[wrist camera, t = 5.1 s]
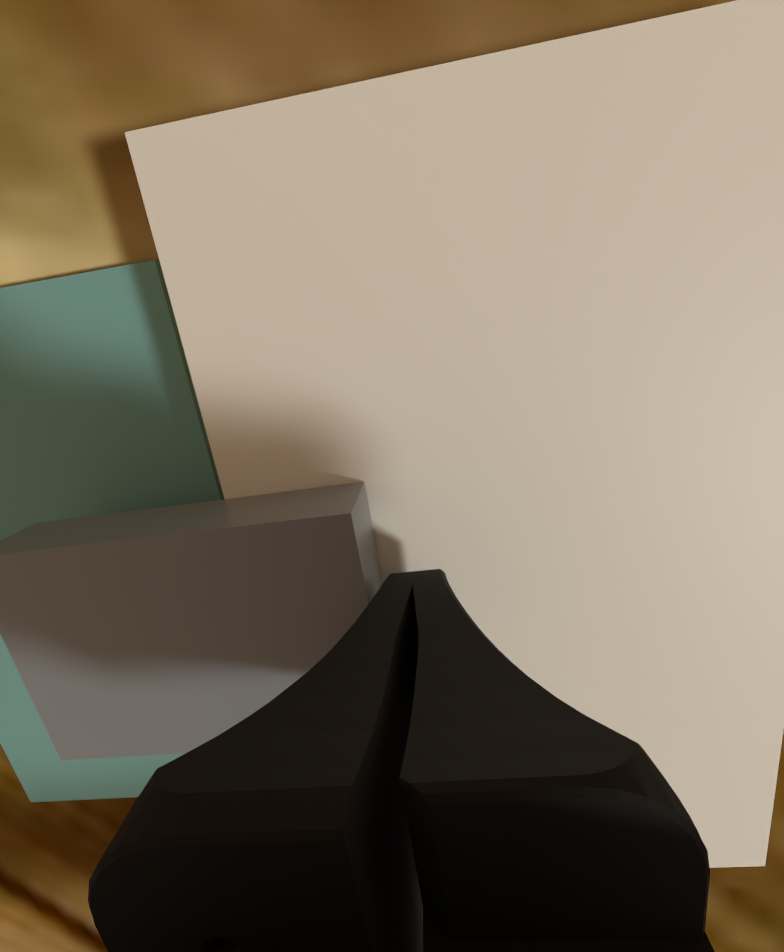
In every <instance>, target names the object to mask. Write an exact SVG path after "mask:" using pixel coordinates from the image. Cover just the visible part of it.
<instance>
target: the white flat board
mask: <svg viewBox="0 0 784 952" xmlns="http://www.w3.org/2000/svg"><path fill="white" fill-rule="evenodd" d="M125 136H126V140H127V143H128V147H129V151H130V154H131V158H132V162H133V165H134V169H135V173H136V176H137V180H138V184H139V187H140V191H141V195H142V198H143V202H144V206H145V209H146V213H147V217H148V220H149V224H150V228H151V231H152V235H153V239H154V242H155V246H156V250H157V253H158V257H159V261H160V264H161V268H162V272H163V275H164V279H165V283H166V286H167V290H168V294H169V297H170V301H171V305H172V308H173V312H174V316H175V319H176V323H177V327H178V330H179V334H180V338H181V341H182V345H183V349H184V352H185V356H186V360H187V363H188V367H189V371H190V374H191V378H192V382H193V385H194V389H195V393H196V396H197V400H198V404H199V407H200V411H201V415H202V418H203V422H204V426H205V429H206V433H207V437H208V440H209V444H210V448H211V451H212V455H213V459H214V462H215V466H216V470H217V473H218V477H219V481H220V484H221V488H222V492H223V495H224V499H231V498H239V497H247V496H255V495H263V494H271V493H279V492H287V491H295V490H303V489H311V488H319V487H327V486H335V485H343V484H351V483H359V482H364V483H365V488H366V494H367V499H368V505H369V510H370V516H371V521H372V526H373V532H374V537H375V543H376V548H377V554H378V559H379V565H380V570H381V575H382V581H383V582H384V581H385V579H386V578H387V577H388V576H389V575H390V574H391V573H401V572H412V571H422V570H433V569H441V570H442V571H444V572H445V575H446V578H447V580H448V583H449V585H450V587H451V589H452V590H453V592H454V594H455V596H456V597H457V599H458V600H459V602H460V603H461V605H462V606H463V608H464V609H465V610H466V612H467V613H468V615H469V616H470V617H471V619H472V620H473V621H474V622H475V624H476V625H477V626H478V627H479V628H480V630H481V631H482V632H483V633H484V634H485V636H486V637H487V638H488V639H489V640H490V641H491V642H492V643H493V644H494V645H495V646H496V647H497V648H498V649H499V650H500V651H501V652H502V653H503V654H504V655H505V656H506V657H507V658H508V659H509V660H510V661H511V662H512V663H513V664H515V665H516V666H517V667H518V668H519V669H520V670H521V671H523V672H524V673H525V674H526V675H527V676H528V677H530V678H531V679H532V680H534V681H535V682H537V683H538V684H539V685H541V686H542V687H543V688H545V689H546V690H547V691H549V692H550V693H551V694H553V695H554V696H555V697H557V698H559V699H560V700H562V701H563V702H565V703H566V704H568V705H570V706H571V707H573V708H574V709H576V710H577V711H579V712H581V713H582V714H584V715H586V716H588V717H589V718H591V719H593V720H595V721H597V722H599V723H601V724H603V725H605V726H606V727H608V728H610V729H612V730H614V731H616V732H618V733H620V734H622V735H624V736H625V737H627V738H629V739H631V740H633V741H635V742H637V743H638V744H639V745H640V746H641V747H642V748H643V749H644V751H645V752H646V753H647V755H648V756H649V757H650V759H651V760H652V761H653V763H654V764H655V765H656V767H657V768H658V769H659V771H660V772H661V773H662V775H663V776H664V778H665V779H666V781H667V782H668V783H669V785H670V786H671V788H672V789H673V791H674V792H675V794H676V795H677V796H678V798H679V799H680V801H681V803H682V804H683V806H684V807H685V809H686V811H687V812H688V814H689V815H690V817H691V819H692V821H693V823H694V825H695V827H696V828H697V830H698V833H699V835H700V837H701V839H702V841H703V843H704V845H705V847H706V849H707V850H708V859H709V868H714V867H750V866H765V863H766V855H767V848H768V840H769V833H770V826H771V818H772V811H773V803H774V796H775V788H776V781H777V774H778V766H779V759H780V751H781V744H782V736H783V729H784V0H737V1H732V2H728V3H723V4H718V5H714V6H709V7H704V8H700V9H695V10H690V11H686V12H681V13H677V14H672V15H667V16H663V17H658V18H653V19H649V20H644V21H639V22H635V23H630V24H625V25H621V26H616V27H611V28H607V29H602V30H598V31H593V32H588V33H584V34H579V35H574V36H570V37H565V38H560V39H556V40H551V41H546V42H542V43H537V44H532V45H528V46H523V47H519V48H514V49H509V50H505V51H500V52H495V53H491V54H486V55H481V56H477V57H472V58H467V59H463V60H458V61H454V62H449V63H444V64H440V65H435V66H430V67H426V68H421V69H416V70H412V71H407V72H402V73H398V74H393V75H388V76H384V77H379V78H375V79H370V80H365V81H361V82H356V83H351V84H347V85H342V86H337V87H333V88H328V89H323V90H319V91H314V92H309V93H305V94H300V95H296V96H291V97H286V98H282V99H277V100H272V101H268V102H263V103H258V104H254V105H249V106H244V107H240V108H235V109H231V110H226V111H221V112H217V113H212V114H207V115H203V116H198V117H193V118H189V119H184V120H179V121H175V122H170V123H165V124H161V125H156V126H152V127H147V128H142V129H138V130H133V131H128V132H125Z"/></svg>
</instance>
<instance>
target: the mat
mask: <svg viewBox="0 0 784 952" xmlns="http://www.w3.org/2000/svg"><path fill="white" fill-rule="evenodd" d="M223 499H224V495H223V492H222V488H221V484H220V481H219V477H218V473H217V470H216V466H215V462H214V459H213V455H212V451H211V448H210V444H209V440H208V437H207V433H206V429H205V426H204V422H203V418H202V415H201V411H200V407H199V404H198V400H197V396H196V393H195V389H194V385H193V382H192V378H191V374H190V371H189V367H188V363H187V360H186V356H185V352H184V349H183V345H182V341H181V338H180V334H179V330H178V327H177V323H176V319H175V316H174V312H173V308H172V305H171V301H170V297H169V294H168V290H167V286H166V283H165V279H164V275H163V272H162V268H161V264H160V261H157V260H151V261H146V262H140V263H135V264H129V265H124V266H118V267H113V268H107V269H102V270H96V271H91V272H85V273H80V274H74V275H69V276H63V277H58V278H52V279H47V280H41V281H36V282H31V283H25V284H20V285H14V286H9V287H3V288H0V540H3V539H5V538H7V537H9V536H11V535H13V534H15V533H17V532H19V531H21V530H23V529H25V528H27V527H29V526H31V525H33V524H35V523H39V522H47V521H55V520H63V519H71V518H79V517H87V516H95V515H103V514H111V513H119V512H127V511H135V510H143V509H151V508H159V507H167V506H175V505H183V504H191V503H199V502H207V501H215V500H223ZM0 744H1V746H2V747H3V749H4V751H5V753H6V755H7V757H8V759H9V761H10V763H11V765H12V767H13V769H14V771H15V773H16V775H17V777H18V779H19V781H20V782H21V784H22V786H23V788H24V790H25V792H26V794H27V796H28V798H29V800H30V802H49V801H69V800H89V799H109V798H130V797H139V795H140V793H141V792H142V790H143V789H144V787H145V786H146V784H147V783H148V781H149V779H150V778H151V776H152V775H153V774H154V772H155V771H156V769H157V768H159V767H161V766H163V765H165V764H167V763H169V762H171V761H173V760H175V759H176V758H178V757H180V756H182V755H184V754H169V755H150V756H132V757H113V758H95V759H77V760H61V759H60V757H59V755H58V753H57V751H56V749H55V747H54V745H53V743H52V741H51V738H50V736H49V734H48V732H47V730H46V728H45V726H44V724H43V722H42V720H41V718H40V716H39V713H38V711H37V709H36V707H35V705H34V703H33V701H32V699H31V697H30V695H29V693H28V691H27V689H26V686H25V684H24V682H23V680H22V678H21V676H20V674H19V672H18V670H17V668H16V666H15V664H14V661H13V659H12V657H11V655H10V653H9V651H8V649H7V647H6V645H5V643H4V641H3V639H2V637H1V634H0Z"/></svg>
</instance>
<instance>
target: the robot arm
mask: <svg viewBox="0 0 784 952" xmlns="http://www.w3.org/2000/svg"><path fill="white" fill-rule="evenodd" d="M709 878H710V868H709V859H708V850H707V849H706V847H705V845H704V843H703V841H702V839H701V837H700V835H699V833H698V830H697V828H696V827H695V825H694V823H693V821H692V819H691V817H690V815H689V814H688V812H687V811H686V809H685V807H684V806H683V804H682V803H681V801H680V799H679V798H678V796H677V795H676V794H675V792H674V791H673V789H672V788H671V786H670V785H669V783H668V782H667V781H666V779H665V778H664V776H663V775H662V773H661V772H660V771H659V769H658V768H657V767H656V765H655V764H654V763H653V761H652V760H651V759H650V757H649V756H648V755H647V753H646V752H645V751H644V749H643V748H642V747H641V746H640V745H639V744H638V743H637V742H635V741H633V740H631V739H629V738H627V737H625V736H624V735H622V734H620V733H618V732H616V731H614V730H612V729H610V728H608V727H606V726H605V725H603V724H601V723H599V722H597V721H595V720H593V719H591V718H589V717H588V716H586V715H584V714H582V713H581V712H579V711H577V710H576V709H574V708H573V707H571V706H570V705H568V704H566V703H565V702H563V701H562V700H560V699H559V698H557V697H555V696H554V695H553V694H551V693H550V692H549V691H547V690H546V689H545V688H543V687H542V686H541V685H539V684H538V683H537V682H535V681H534V680H532V679H531V678H530V677H528V676H527V675H526V674H525V673H524V672H523V671H521V670H520V669H519V668H518V667H517V666H516V665H515V664H513V663H512V662H511V661H510V660H509V659H508V658H507V657H506V656H505V655H504V654H503V653H502V652H501V651H500V650H499V649H498V648H497V647H496V646H495V645H494V644H493V643H492V642H491V641H490V640H489V639H488V638H487V637H486V636H485V634H484V633H483V632H482V631H481V630H480V628H479V627H478V626H477V625H476V624H475V622H474V621H473V620H472V619H471V617H470V616H469V615H468V613H467V612H466V610H465V609H464V608H463V606H462V605H461V603H460V602H459V600H458V599H457V597H456V596H455V594H454V592H453V590H452V589H451V587H450V585H449V583H448V580H447V578H446V575H445V572H444V571H442V570H441V569H433V570H422V571H412V572H401V573H391V574H390V575H389V576H388V577H387V578H386V579H385V581H384V582H383V584H382V585H381V587H380V588H379V590H378V591H377V593H376V594H375V596H374V597H373V599H372V600H371V601H370V603H369V604H368V605H367V607H366V608H365V609H364V611H363V612H362V613H361V615H360V616H359V617H358V619H357V620H356V621H355V622H354V624H353V625H352V626H351V627H350V628H349V630H348V631H347V632H346V633H345V634H344V635H343V637H342V638H341V639H340V640H339V641H338V642H337V644H336V645H335V646H334V647H333V648H332V649H331V650H330V651H329V652H328V653H327V654H326V655H325V656H324V657H323V658H322V659H321V660H320V661H319V662H318V663H316V664H315V665H314V666H313V667H312V668H311V669H310V670H309V671H308V672H307V673H305V674H304V675H303V676H302V677H301V678H299V679H298V680H297V681H296V682H294V683H293V684H292V685H290V686H289V687H288V688H287V689H285V690H284V691H283V692H282V693H280V694H279V695H278V696H276V697H275V698H274V699H273V700H271V701H270V702H269V703H267V704H266V705H264V706H263V707H261V708H260V709H259V710H257V711H256V712H254V713H253V714H251V715H250V716H248V717H247V718H245V719H244V720H242V721H241V722H239V723H237V724H236V725H234V726H233V727H231V728H230V729H228V730H226V731H225V732H223V733H221V734H220V735H218V736H216V737H215V738H213V739H211V740H209V741H207V742H206V743H204V744H202V745H200V746H198V747H196V748H195V749H193V750H191V751H189V752H187V753H185V754H184V755H182V756H180V757H178V758H176V759H175V760H173V761H171V762H169V763H167V764H165V765H163V766H161V767H159V768H157V769H156V771H155V772H154V774H153V775H152V776H151V778H150V779H149V781H148V783H147V784H146V786H145V787H144V789H143V790H142V792H141V793H140V795H139V797H138V798H137V800H136V801H135V803H134V805H133V806H132V808H131V810H130V811H129V813H128V815H127V816H126V818H125V820H124V821H123V823H122V825H121V826H120V828H119V830H118V831H117V833H116V835H115V836H114V838H113V840H112V841H111V843H110V845H109V846H108V848H107V850H106V851H105V853H104V855H103V856H102V858H101V860H100V861H99V863H98V865H97V867H96V869H95V871H94V873H93V875H92V876H91V878H90V880H89V893H88V902H89V907H90V910H91V913H92V916H93V919H94V923H95V926H96V928H97V930H98V932H99V934H100V936H101V938H102V940H103V942H104V944H105V946H106V948H107V950H108V952H714V950H713V948H712V946H711V944H710V941H709V939H708V937H707V935H706V933H705V921H706V910H707V899H708V889H709ZM422 904H423V927H422Z"/></svg>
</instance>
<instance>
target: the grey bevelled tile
mask: <svg viewBox="0 0 784 952" xmlns="http://www.w3.org/2000/svg"><path fill="white" fill-rule="evenodd" d="M382 584H383V581H382V575H381V570H380V565H379V559H378V554H377V548H376V543H375V537H374V532H373V526H372V521H371V516H370V510H369V505H368V499H367V494H366V488H365V483H364V482H359V483H351V484H343V485H335V486H327V487H319V488H311V489H303V490H295V491H287V492H279V493H271V494H263V495H255V496H247V497H239V498H231V499H223V500H215V501H207V502H199V503H191V504H183V505H175V506H167V507H159V508H151V509H143V510H135V511H127V512H119V513H111V514H103V515H95V516H87V517H79V518H71V519H63V520H55V521H47V522H39V523H35V524H33V525H31V526H29V527H27V528H25V529H23V530H21V531H19V532H17V533H15V534H13V535H11V536H9V537H7V538H5V539H3V540H0V634H1V637H2V639H3V641H4V643H5V645H6V647H7V649H8V651H9V653H10V655H11V657H12V659H13V661H14V664H15V666H16V668H17V670H18V672H19V674H20V676H21V678H22V680H23V682H24V684H25V686H26V689H27V691H28V693H29V695H30V697H31V699H32V701H33V703H34V705H35V707H36V709H37V711H38V713H39V716H40V718H41V720H42V722H43V724H44V726H45V728H46V730H47V732H48V734H49V736H50V738H51V741H52V743H53V745H54V747H55V749H56V751H57V753H58V755H59V757H60V759H61V760H77V759H95V758H113V757H132V756H150V755H169V754H185V753H187V752H189V751H191V750H193V749H195V748H196V747H198V746H200V745H202V744H204V743H206V742H207V741H209V740H211V739H213V738H215V737H216V736H218V735H220V734H221V733H223V732H225V731H226V730H228V729H230V728H231V727H233V726H234V725H236V724H237V723H239V722H241V721H242V720H244V719H245V718H247V717H248V716H250V715H251V714H253V713H254V712H256V711H257V710H259V709H260V708H261V707H263V706H264V705H266V704H267V703H269V702H270V701H271V700H273V699H274V698H275V697H276V696H278V695H279V694H280V693H282V692H283V691H284V690H285V689H287V688H288V687H289V686H290V685H292V684H293V683H294V682H296V681H297V680H298V679H299V678H301V677H302V676H303V675H304V674H305V673H307V672H308V671H309V670H310V669H311V668H312V667H313V666H314V665H315V664H316V663H318V662H319V661H320V660H321V659H322V658H323V657H324V656H325V655H326V654H327V653H328V652H329V651H330V650H331V649H332V648H333V647H334V646H335V645H336V644H337V642H338V641H339V640H340V639H341V638H342V637H343V635H344V634H345V633H346V632H347V631H348V630H349V628H350V627H351V626H352V625H353V624H354V622H355V621H356V620H357V619H358V617H359V616H360V615H361V613H362V612H363V611H364V609H365V608H366V607H367V605H368V604H369V603H370V601H371V600H372V599H373V597H374V596H375V594H376V593H377V591H378V590H379V588H380V587H381V585H382Z"/></svg>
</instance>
